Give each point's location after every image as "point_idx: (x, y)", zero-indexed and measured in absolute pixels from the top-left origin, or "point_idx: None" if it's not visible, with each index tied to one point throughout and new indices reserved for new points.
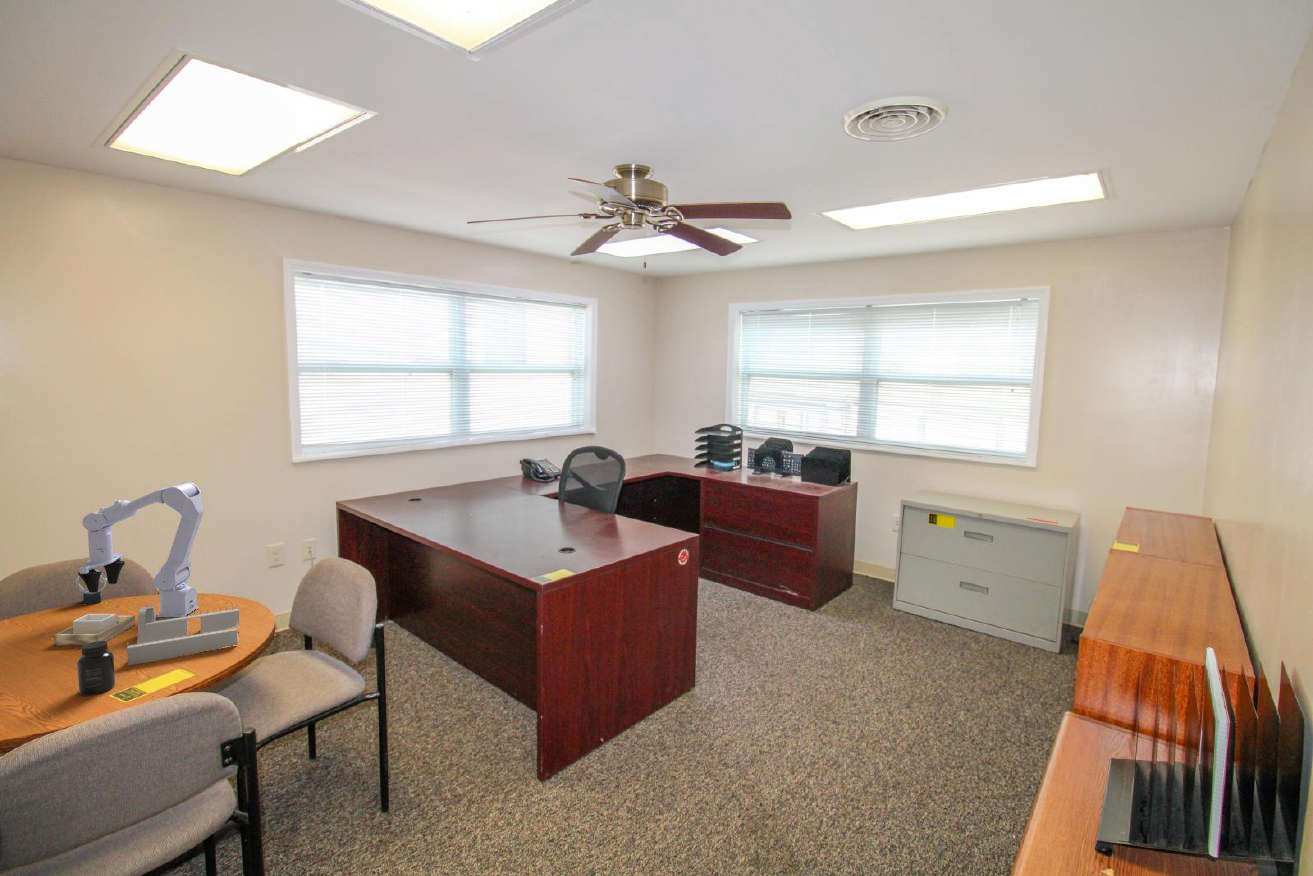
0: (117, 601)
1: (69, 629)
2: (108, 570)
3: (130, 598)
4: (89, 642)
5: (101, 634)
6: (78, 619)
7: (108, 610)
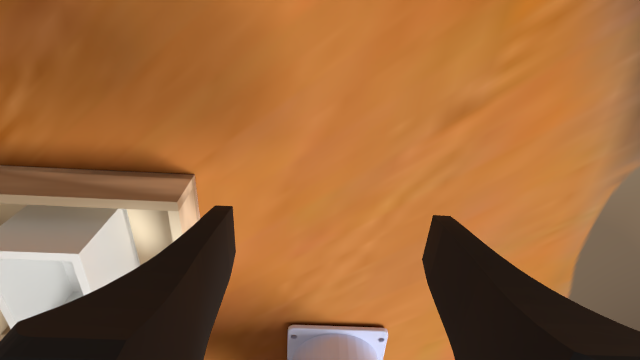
0: (557, 57)
1: (4, 201)
2: (494, 323)
3: (592, 100)
4: None
5: None
6: (2, 257)
7: (401, 105)
